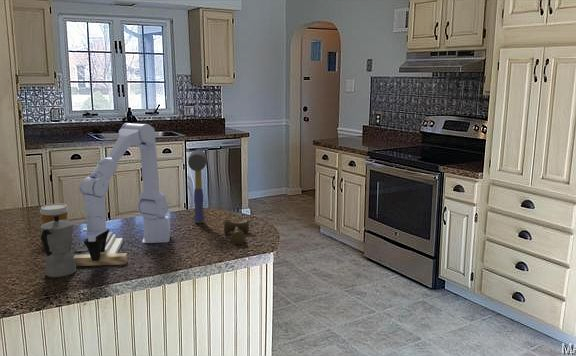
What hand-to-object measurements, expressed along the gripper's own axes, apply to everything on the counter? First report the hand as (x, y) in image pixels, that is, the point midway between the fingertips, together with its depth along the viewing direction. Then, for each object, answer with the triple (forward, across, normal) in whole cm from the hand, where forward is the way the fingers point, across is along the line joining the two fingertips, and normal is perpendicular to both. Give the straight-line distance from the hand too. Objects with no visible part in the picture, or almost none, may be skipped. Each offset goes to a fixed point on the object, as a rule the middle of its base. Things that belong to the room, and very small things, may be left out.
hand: (98, 256), depth 155 cm
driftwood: (+3, -22, -7) cm, 23 cm away
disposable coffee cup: (+3, -29, -21) cm, 36 cm away
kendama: (+3, -23, +45) cm, 51 cm away
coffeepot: (+3, +6, -10) cm, 12 cm away
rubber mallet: (+3, -42, +31) cm, 52 cm away
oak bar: (+3, 0, 0) cm, 3 cm away
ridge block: (+3, -13, 0) cm, 13 cm away
